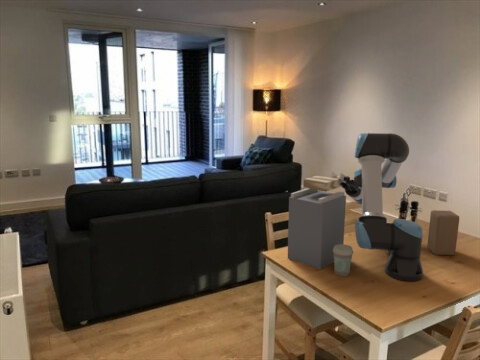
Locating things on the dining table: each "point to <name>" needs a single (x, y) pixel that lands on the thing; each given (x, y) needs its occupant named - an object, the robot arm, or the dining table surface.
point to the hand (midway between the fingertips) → (335, 175)
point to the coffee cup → (342, 259)
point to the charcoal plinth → (315, 226)
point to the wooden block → (443, 232)
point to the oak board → (322, 183)
